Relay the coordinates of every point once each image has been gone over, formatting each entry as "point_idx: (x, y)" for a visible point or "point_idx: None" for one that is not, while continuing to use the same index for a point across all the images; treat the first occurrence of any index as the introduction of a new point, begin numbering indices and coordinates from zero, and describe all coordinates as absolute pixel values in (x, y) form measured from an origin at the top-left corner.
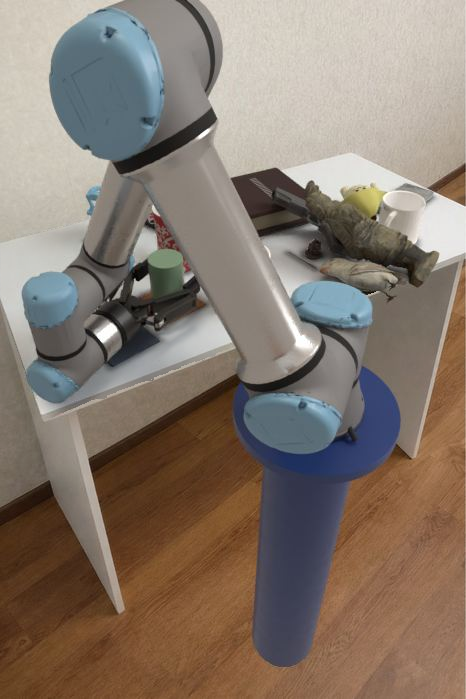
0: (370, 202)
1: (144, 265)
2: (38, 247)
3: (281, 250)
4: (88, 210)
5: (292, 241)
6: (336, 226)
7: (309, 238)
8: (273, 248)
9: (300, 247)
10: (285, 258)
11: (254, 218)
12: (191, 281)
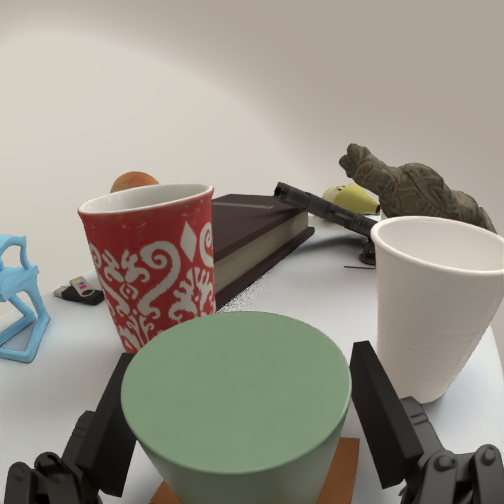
0: (365, 194)
1: (110, 427)
2: None
3: (329, 269)
4: None
5: (324, 255)
6: (416, 195)
7: (337, 247)
8: (315, 270)
9: (344, 258)
10: (350, 275)
11: (265, 234)
12: (401, 413)
